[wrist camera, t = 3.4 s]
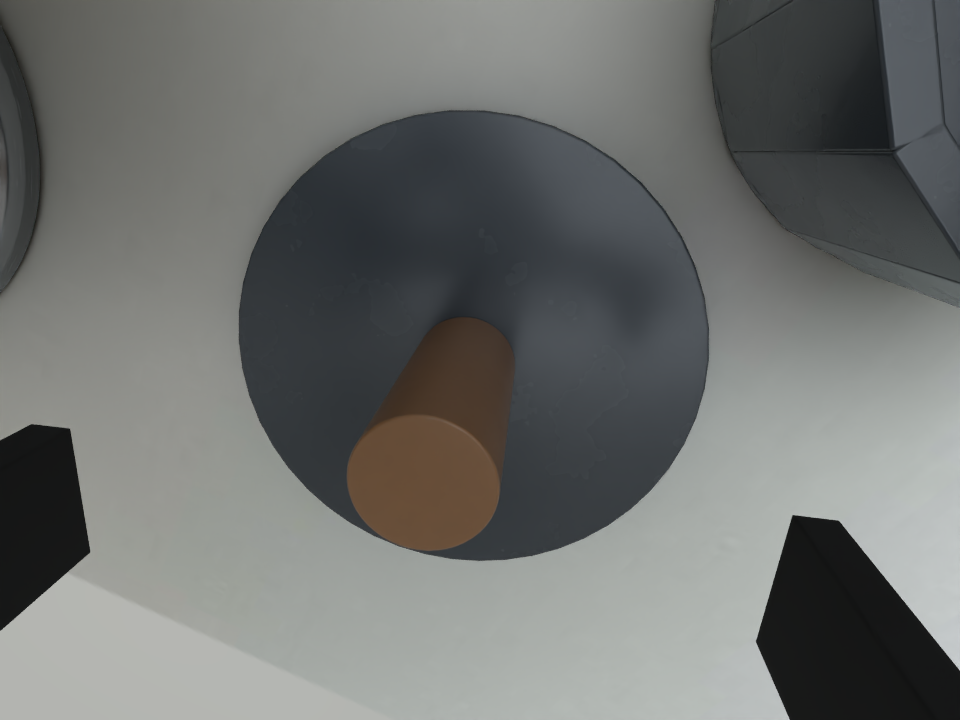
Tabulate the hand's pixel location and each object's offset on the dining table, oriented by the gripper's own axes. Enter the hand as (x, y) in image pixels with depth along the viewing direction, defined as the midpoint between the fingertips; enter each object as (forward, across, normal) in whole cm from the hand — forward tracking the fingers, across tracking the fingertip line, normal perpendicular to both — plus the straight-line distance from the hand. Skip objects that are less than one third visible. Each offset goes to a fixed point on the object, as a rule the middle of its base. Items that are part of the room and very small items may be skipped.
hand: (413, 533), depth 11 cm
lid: (+10, 0, 0) cm, 10 cm away
